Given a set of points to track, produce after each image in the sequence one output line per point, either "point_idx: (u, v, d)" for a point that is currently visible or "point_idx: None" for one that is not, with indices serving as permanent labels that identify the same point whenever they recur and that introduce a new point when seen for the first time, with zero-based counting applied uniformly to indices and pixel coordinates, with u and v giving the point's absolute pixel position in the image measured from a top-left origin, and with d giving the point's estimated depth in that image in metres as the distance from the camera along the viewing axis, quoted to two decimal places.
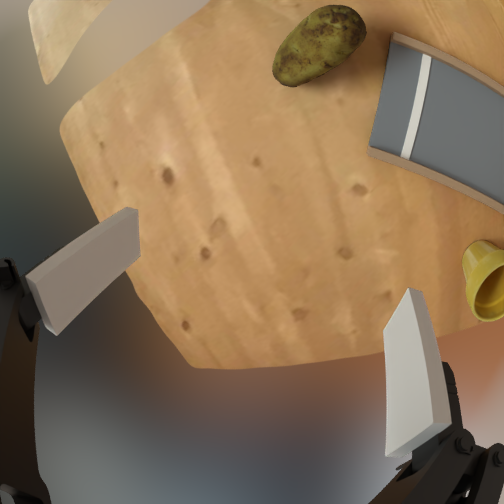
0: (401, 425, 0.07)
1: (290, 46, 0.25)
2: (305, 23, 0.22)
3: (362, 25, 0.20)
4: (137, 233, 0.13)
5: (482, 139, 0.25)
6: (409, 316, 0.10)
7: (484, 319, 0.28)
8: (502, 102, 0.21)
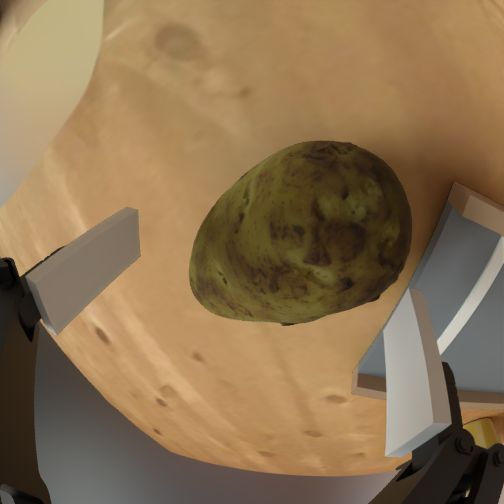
0: (401, 425, 0.07)
1: (211, 263, 0.14)
2: (236, 223, 0.11)
3: (404, 251, 0.09)
4: (137, 233, 0.13)
5: None
6: (409, 316, 0.10)
7: None
8: None
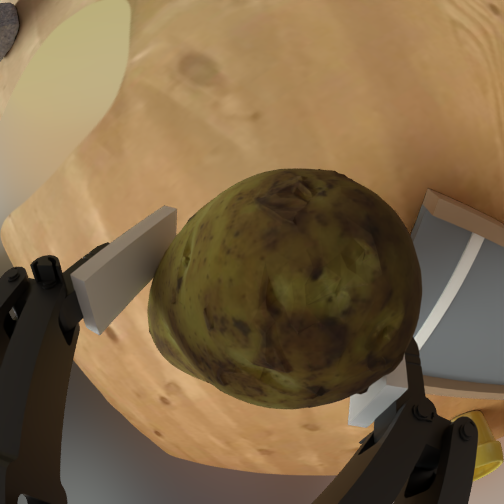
0: None
1: (162, 322, 0.10)
2: (174, 290, 0.08)
3: (408, 338, 0.06)
4: (175, 232, 0.14)
5: None
6: None
7: None
8: None
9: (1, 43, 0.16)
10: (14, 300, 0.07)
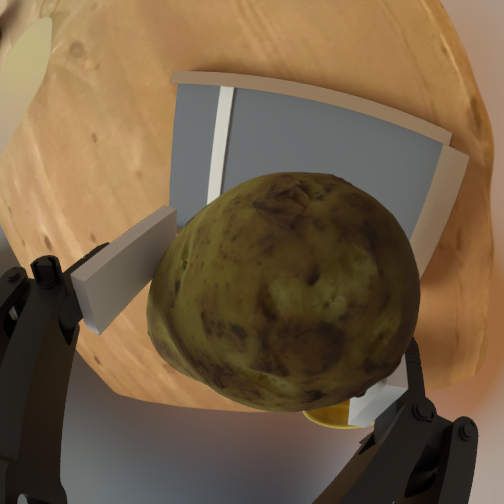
0: None
1: (160, 324, 0.10)
2: (172, 294, 0.08)
3: (405, 343, 0.06)
4: (175, 231, 0.14)
5: None
6: None
7: (333, 426, 0.27)
8: (377, 128, 0.19)
9: None
10: (14, 300, 0.07)
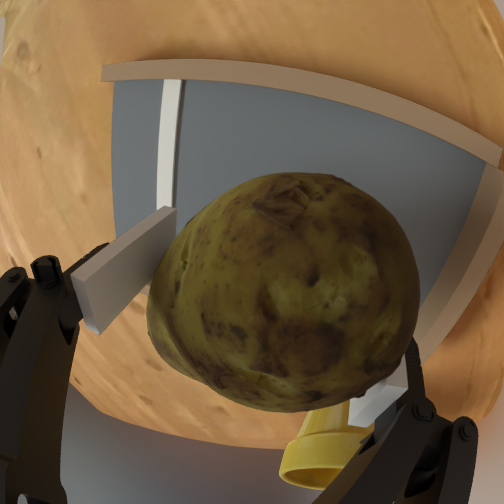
0: None
1: (160, 325, 0.10)
2: (172, 294, 0.08)
3: (405, 343, 0.06)
4: (175, 232, 0.14)
5: None
6: None
7: (318, 488, 0.20)
8: (396, 135, 0.12)
9: None
10: (14, 300, 0.07)
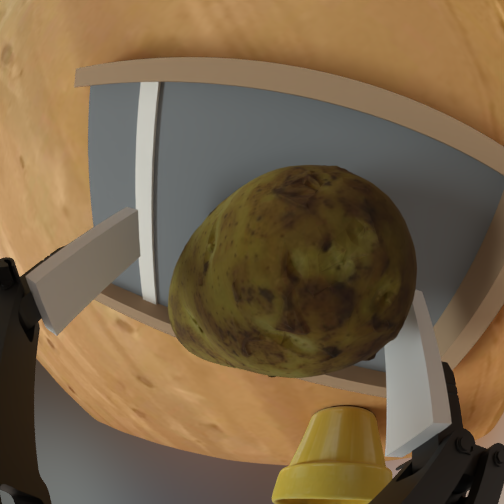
0: (401, 425, 0.07)
1: (185, 309, 0.12)
2: (201, 274, 0.09)
3: (407, 304, 0.07)
4: (137, 233, 0.13)
5: None
6: (409, 316, 0.10)
7: None
8: (408, 146, 0.10)
9: None
10: None
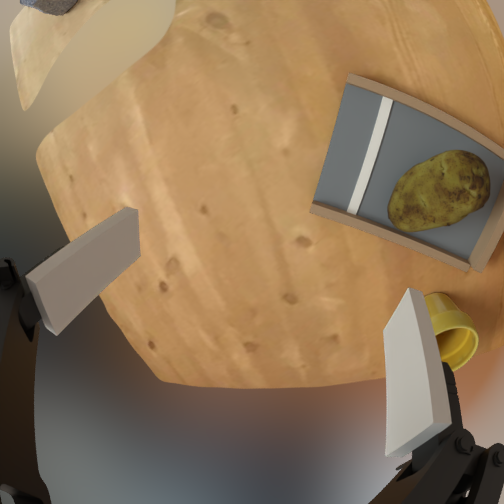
0: (401, 425, 0.07)
1: (418, 196, 0.25)
2: (440, 176, 0.22)
3: None
4: (137, 233, 0.13)
5: None
6: (409, 316, 0.10)
7: None
8: (476, 149, 0.24)
9: (67, 1, 0.24)
10: None
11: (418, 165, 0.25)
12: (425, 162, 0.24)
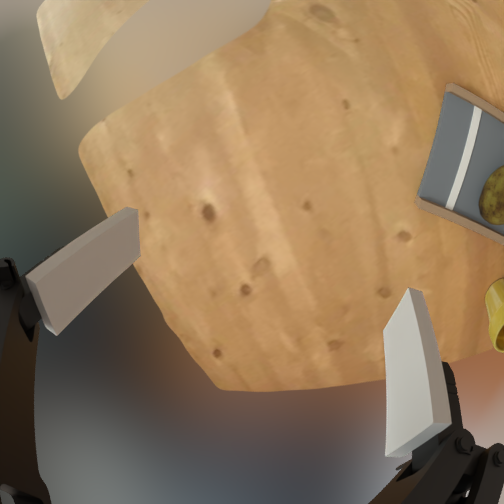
0: (401, 425, 0.07)
1: None
2: None
3: None
4: (137, 233, 0.13)
5: None
6: (409, 316, 0.10)
7: (502, 351, 0.28)
8: None
9: None
10: None
11: (503, 168, 0.23)
12: None
